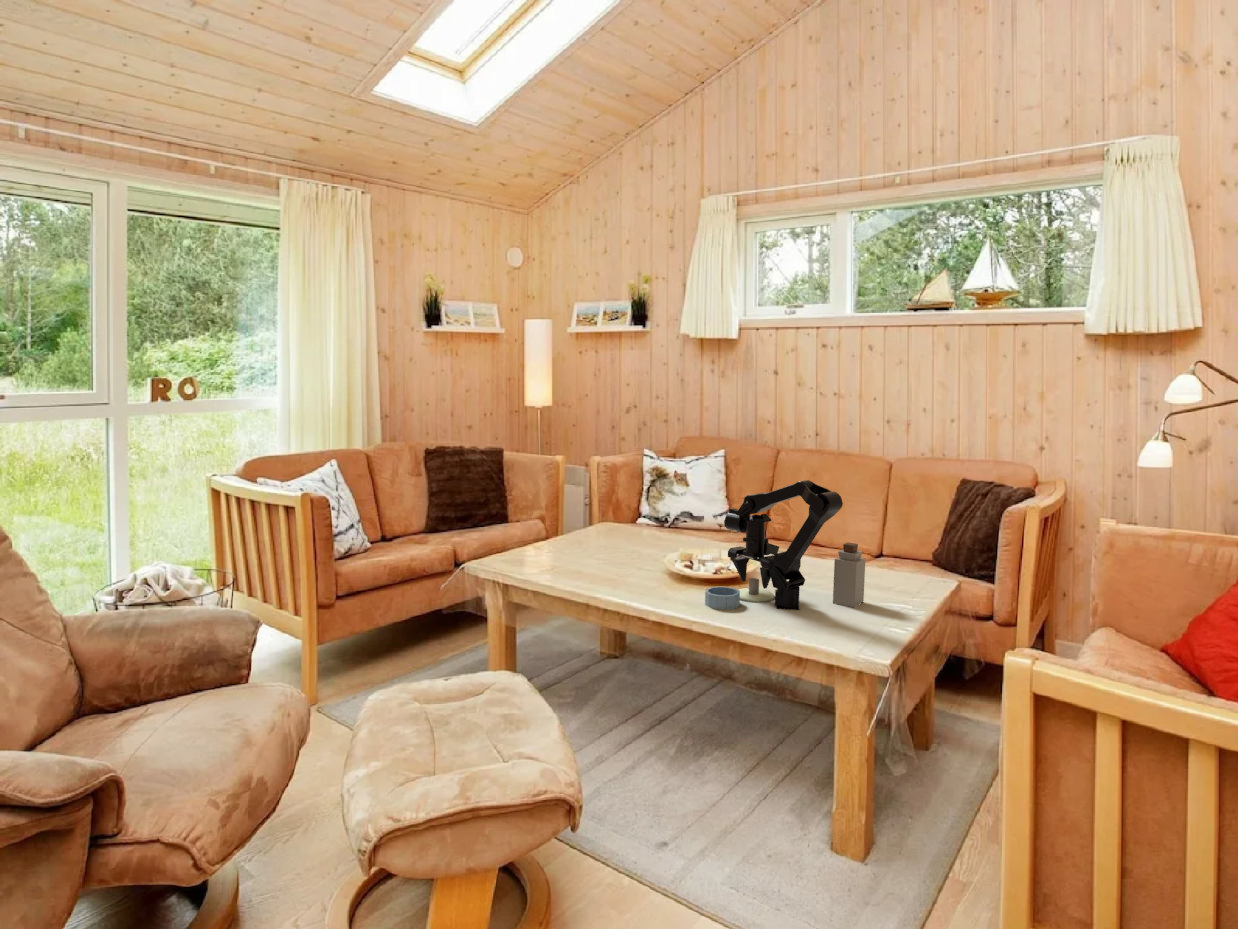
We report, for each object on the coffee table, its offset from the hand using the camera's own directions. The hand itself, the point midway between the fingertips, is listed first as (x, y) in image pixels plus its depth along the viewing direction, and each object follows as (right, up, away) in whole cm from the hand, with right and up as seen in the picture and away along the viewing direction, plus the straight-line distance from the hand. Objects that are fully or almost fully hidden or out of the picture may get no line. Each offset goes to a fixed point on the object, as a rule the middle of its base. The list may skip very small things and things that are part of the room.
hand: (754, 584), depth 236 cm
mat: (0, -4, +1) cm, 4 cm away
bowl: (-11, -5, -8) cm, 14 cm away
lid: (0, -4, +1) cm, 4 cm away
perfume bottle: (+27, -5, -5) cm, 28 cm away
